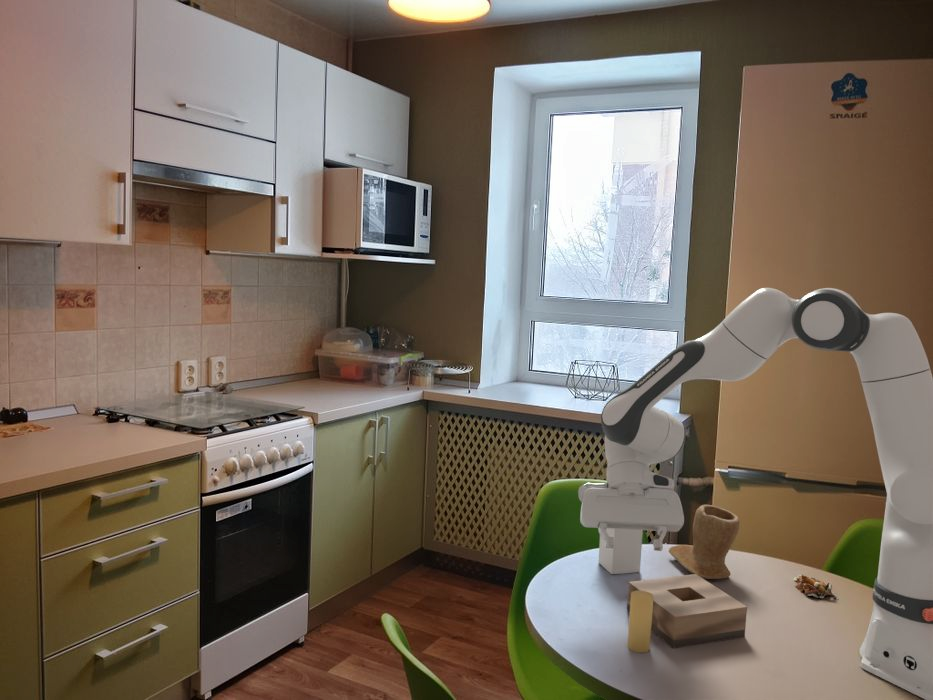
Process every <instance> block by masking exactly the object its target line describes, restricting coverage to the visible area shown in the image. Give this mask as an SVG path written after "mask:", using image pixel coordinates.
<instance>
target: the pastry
mask: <svg viewBox="0 0 933 700" xmlns="http://www.w3.org/2000/svg"><path fill="white" fill-rule="evenodd" d="M792 580H793V581H796V583H797V584H796V585H795V586H794V588H795V589H797V591H798V592H800V593H801V592H803V591H804V595H806V596H813V597H814V598H820V599H824V598H825V596H831V597H832V598H833V599H834V600H836V601H838V600H839V597H838V596H836V595H835V594H833V593H832V589H833V585H832V584H830V582H828V583H827V584H826V583H825V582H824V581H823V580H820V579H816V578H815V577H813V576H810V577H809V576H808V575H806V574H803V573H802V574H799V575H796V576H794V577H793V579H792Z"/></svg>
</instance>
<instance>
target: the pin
mask: <svg viewBox="0 0 933 700" xmlns="http://www.w3.org/2000/svg"><path fill="white" fill-rule="evenodd" d="M652 611H653V595H652V594H651V593H649V592H646V591H640V590H638V591H633V592H631V601H630V613H629V618H628V631H627V632H628V633H627V634H628V635H627V648H628V649H629V650H630V651H631V652H634V653H640V654H641V653H642V654H644V653H648V652H649V651H650V650H651V638H652V637H651V636H652V631H651V625H652Z"/></svg>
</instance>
